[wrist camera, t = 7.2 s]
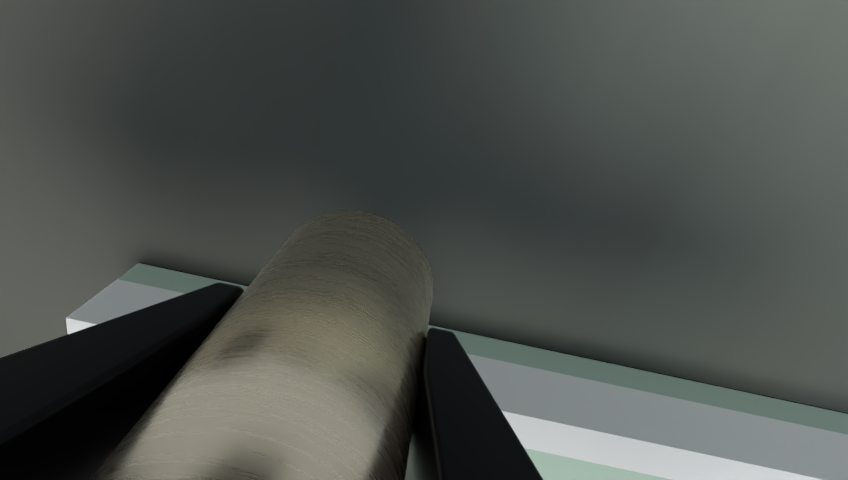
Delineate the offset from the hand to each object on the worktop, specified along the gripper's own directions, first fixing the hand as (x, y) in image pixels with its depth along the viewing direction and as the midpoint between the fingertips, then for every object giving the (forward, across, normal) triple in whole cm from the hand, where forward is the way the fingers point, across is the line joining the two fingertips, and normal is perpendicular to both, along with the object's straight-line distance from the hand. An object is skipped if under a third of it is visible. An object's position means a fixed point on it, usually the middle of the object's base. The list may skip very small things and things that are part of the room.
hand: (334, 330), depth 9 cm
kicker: (+5, 0, +9) cm, 10 cm away
